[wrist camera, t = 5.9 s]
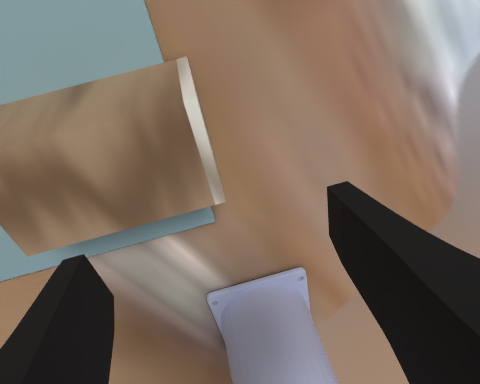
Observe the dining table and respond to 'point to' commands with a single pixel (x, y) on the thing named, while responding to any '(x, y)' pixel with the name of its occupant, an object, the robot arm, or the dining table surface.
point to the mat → (70, 74)
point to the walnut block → (104, 157)
